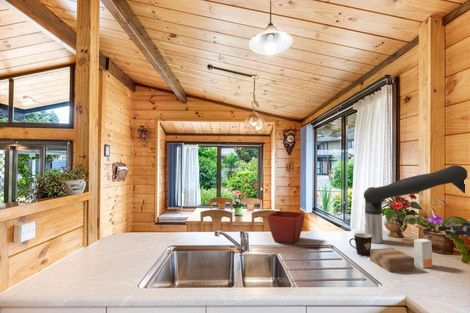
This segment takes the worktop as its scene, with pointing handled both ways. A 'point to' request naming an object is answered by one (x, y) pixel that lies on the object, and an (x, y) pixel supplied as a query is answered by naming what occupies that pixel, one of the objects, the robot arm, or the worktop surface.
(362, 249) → the coffee mug
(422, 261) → the skincare box
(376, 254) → the walnut block
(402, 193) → the robot arm
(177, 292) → the worktop surface
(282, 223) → the plant pot
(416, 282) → the worktop surface
